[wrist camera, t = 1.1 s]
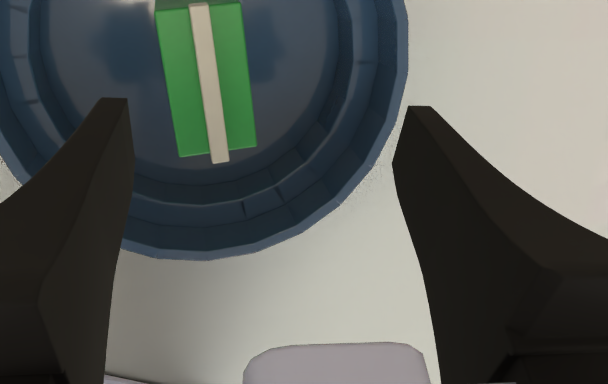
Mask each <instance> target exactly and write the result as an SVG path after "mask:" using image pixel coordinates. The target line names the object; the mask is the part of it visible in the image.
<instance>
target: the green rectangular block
mask: <svg viewBox="0 0 608 384" xmlns="http://www.w3.org/2000/svg"><path fill="white" fill-rule="evenodd" d="M154 17H155V23H156V29H157V35H158V40H159V46H160V52H161V58H162V63H163V69H164V75H165V81H166V86H167V92H168V98H169V104H170V109H171V115H172V121H173V127H174V132H175V138H176V144H177V150H178V155H179V157H187V156H194V155H201V154H208V153H210V154H211V159H212V163H214V164H215V163H222V162H228V161H229V160H230V159H229V152H228V151H229V150H236V149H243V148H250V147H255V146H257V138H256V129H255V120H254V112H253V103H252V94H251V85H250V76H249V67H248V59H247V50H246V41H245V32H244V23H243V14H242V6H241V3H240V2H239V1H238V0H155V7H154Z"/></svg>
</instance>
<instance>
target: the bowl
mask: <svg viewBox="0 0 608 384" xmlns="http://www.w3.org/2000/svg"><path fill="white" fill-rule="evenodd" d="M238 1H239V2H240V3H241V6H242V14H243V23H244V32H245V41H246V50H247V59H248V67H249V76H250V85H251V94H252V103H253V112H254V120H255V129H256V138H257V146H255V147H250V148H243V149H236V150H229V151H228V152H229V159H230V160H229V161H228V162H222V163H215V164H214V163H212V159H211V154H210V153H208V154H201V155H194V156H187V157H179V155H178V150H177V144H176V138H175V132H174V127H173V121H172V115H171V109H170V104H169V98H168V92H167V86H166V81H165V75H164V69H163V63H162V58H161V52H160V46H159V40H158V35H157V29H156V23H155V17H154V7H155V0H0V155H1V157H2V158H3V160H4V161H5V163H6V165H7V166H8V168H9V169H10V171H11V172H12V174H13V175H14V177H16V179H17V180H18V181H19V182H20V183H21V184H22V185H24V184H25V183H26V182H27V181H28V180H30V179H31V178H32V177H33V176H34V175H35V174H36V173H37V172H38V171H39V170H40V169H41V168H42V167H43V166H44V165H45V164H46V163H47V162H48V161H49V160H50V159H51V158H52V157H53V156H54V155H55V153H56V152H57V151H58V150H59V149H60V148H61V147H62V146H63V144H64V143H65V142H66V141H67V140H68V139H69V137H70V136H71V135H72V134H73V133H74V132H75V130H76V129H77V128H78V126H79V125H80V124H81V123H82V121H83V120H84V119H85V117H86V116H87V115H88V113H89V112H90V111H91V109H92V108H93V107H94V105H95V104H96V102H97V101H98V100H99V99H100V98H101V97H111V98H127V100H128V107H129V115H130V123H131V131H132V139H133V146H134V154H135V170H134V182H133V192H132V198H131V203H130V207H129V212H128V216H127V221H126V225H125V229H124V234H123V238H122V242H121V247H120V248H121V249H124V250H128V251H131V252H135V253H138V254H142V255H145V256H149V257H152V258H157V259H173V260H192V261H212V260H218V259H223V258H229V257H235V256H240V255H246V254H252V253H256V252H259V251H261V250H263V249H266V248H268V247H270V246H273V245H275V244H278V243H280V242H282V241H285V240H287V239H289V238H292V237H294V236H296V235H299V234H300V233H303V232H304V231H305V230H307V229H308V228H310V227H311V226H312V225H314V224H315V223H316V222H318V221H319V220H321V219H322V218H323V217H325V216H326V215H327V214H329V213H330V212H332V211H333V210H334V209H336V208H337V207H338V206H340V204H342V203H343V201H344V200H345V199H346V198H347V197H348V196H349V195H350V193H351V192H352V191H353V190H354V189H355V188H356V186H357V185H358V184H359V183H360V182H361V181H362V179H363V178H364V177H365V176H366V175H367V174H368V173H369V171H370V170H371V169H372V167H373V166H374V164H375V162H376V160H377V158H378V156H379V155H380V153H381V151H382V149H383V147H384V145H385V143H386V141H387V139H388V137H389V135H390V133H391V131H392V130H393V128H394V126H395V123H396V120H397V116H398V112H399V108H400V104H401V100H402V96H403V92H404V88H405V84H406V80H407V76H408V73H407V72H408V19H407V18H408V15H407V11H406V7H405V3H404V0H238Z"/></svg>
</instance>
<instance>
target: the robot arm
mask: <svg viewBox="0 0 608 384" xmlns="http://www.w3.org/2000/svg"><path fill="white" fill-rule="evenodd" d="M392 168H393V174H394V180H395V186H396V191H397V196H398V199H399V202H400V206H401V209H402V212H403V215H404V218H405V221H406V224H407V227H408V230H409V233H410V236H411V239H412V242H413V245H414V248H415V251H416V254H417V257H418V260H419V264H420V267H421V271H422V274H423V279H424V284H425V288H426V293H427V298H428V303H429V308H430V314H431V319H432V325H433V330H434V336H435V343H436V349H437V356H438V362H439V369H440V377H441V384H608V239H606V238H604V237H602V236H600V235H598V234H596V233H594V232H592V231H590V230H588V229H586V228H584V227H582V226H580V225H578V224H577V223H575V222H573V221H571V220H569V219H567V218H566V217H564V216H562V215H561V214H559V213H557V212H556V211H554V210H552V209H551V208H549V207H547V206H546V205H544V204H543V203H541V202H540V201H538V200H537V199H535V198H534V197H532V196H531V195H529V194H528V193H527V192H525V191H524V190H522V189H521V188H520V187H518V186H517V185H515V184H514V183H513V182H512V181H510V180H509V179H508V178H507V177H505V176H504V175H503V174H502V173H501V172H499V171H498V170H497V169H496V168H495V167H493V166H492V165H491V164H490V163H489V162H488V161H487V160H485V159H484V158H483V157H482V156H481V155H480V154H479V153H478V152H477V151H476V150H475V149H474V148H473V147H471V146H470V145H469V144H468V143H467V142H466V141H465V140H464V139H463V138H462V137H461V136H460V135H459V134H458V133H457V132H456V131H455V130H454V129H453V128H452V127H451V126H450V125H449V124H448V123H447V122H446V121H445V120H444V119H443V118H442V117H441V116H440V115H439V114H438V113H437V112H436V111H435V110H434V109H433V108H432V107H431V106H408V108H407V112H406V115H405V119H404V122H403V126H402V130H401V133H400V137H399V140H398V144H397V147H396V151H395V154H394V158H393V161H392ZM134 170H135V154H134V146H133V139H132V131H131V123H130V115H129V107H128V100H127V98H111V97H101V98H100V99H99V100H98V101H97V102H96V104H95V105H94V107H93V108H92V109H91V111H90V112H89V113H88V115H87V116H86V117H85V119H84V120H83V121H82V123H81V124H80V125H79V126H78V128H77V129H76V130H75V132H74V133H73V134H72V135H71V136H70V137H69V139H68V140H67V141H66V142H65V143H64V144H63V146H62V147H61V148H60V149H59V150H58V151H57V152H56V153H55V155H54V156H53V157H52V158H51V159H50V160H49V161H48V162H47V163H46V164H45V165H44V166H43V167H42V168H41V169H40V170H39V171H38V172H37V173H36V174H35V175H34V176H33V177H32V178H31V179H30V180H28V181H27V182H26V183H25V184H24V185H23V186H22V187H20V188H19V189H18V190H17V191H16V192H15V193H13V194H12V195H11V196H10V197H8V198H7V199H6V200H4V201H3V202H2V203H0V384H147V383H142V382H138V381H133V380H128V379H123V378H118V377H114V376H109V375H104V373H105V361H106V349H107V338H108V328H109V318H110V308H111V299H112V290H113V281H114V275H115V270H116V264H117V260H118V256H119V251H120V247H121V242H122V238H123V234H124V229H125V225H126V221H127V216H128V212H129V207H130V203H131V198H132V192H133V182H134ZM243 384H431V382H430V379H429V375H428V371H427V368H426V364H425V360H424V357H423V354H422V353H421V352H419V351H418V350H416V349H415V348H413V347H412V346H410V345H408V344H403V343H394V342H369V343H340V344H311V345H289V346H284V347H278V348H272V349H269V350H267V351H265V352H263V353H261V354H259V355H257V356H255V357H254V358H253V359H251V360H250V362H249V364H248V365H247V367H246V369H245V370H244V373H243Z"/></svg>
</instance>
